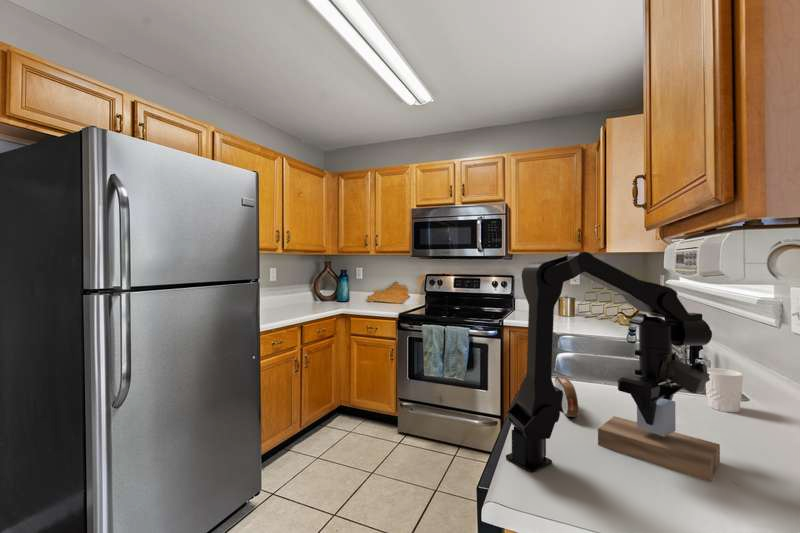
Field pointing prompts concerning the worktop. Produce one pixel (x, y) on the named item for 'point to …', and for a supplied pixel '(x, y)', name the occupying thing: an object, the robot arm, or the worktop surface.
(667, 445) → the walnut block
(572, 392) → the tin
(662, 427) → the gray block
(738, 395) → the white cup
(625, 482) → the worktop surface
